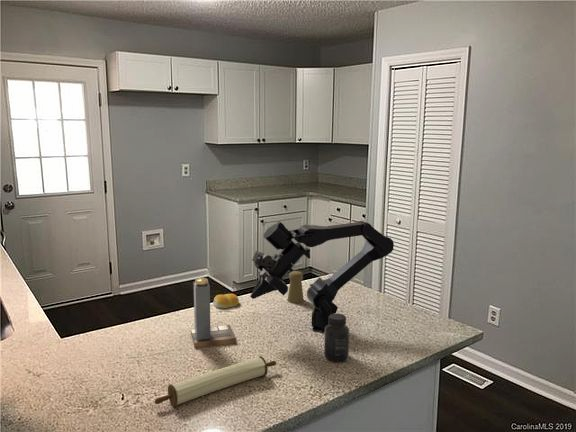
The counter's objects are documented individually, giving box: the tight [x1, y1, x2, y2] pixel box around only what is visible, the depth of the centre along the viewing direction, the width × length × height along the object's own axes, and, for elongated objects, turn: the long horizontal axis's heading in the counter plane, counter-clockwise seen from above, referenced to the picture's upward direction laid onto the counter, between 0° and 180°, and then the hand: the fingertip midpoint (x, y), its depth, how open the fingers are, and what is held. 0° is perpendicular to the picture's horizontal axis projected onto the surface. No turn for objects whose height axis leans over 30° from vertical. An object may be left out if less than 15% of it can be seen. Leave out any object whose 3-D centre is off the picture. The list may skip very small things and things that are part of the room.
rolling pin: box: [154, 355, 277, 408], centre depth 114 cm, size 32×6×5 cm, turn 124°
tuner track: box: [190, 324, 237, 349], centre depth 142 cm, size 12×10×2 cm
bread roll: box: [212, 293, 240, 309], centre depth 169 cm, size 8×9×4 cm
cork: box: [286, 270, 305, 305], centre depth 172 cm, size 6×6×11 cm
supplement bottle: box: [323, 313, 350, 363], centre depth 130 cm, size 7×7×12 cm
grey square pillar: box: [193, 277, 211, 340], centre depth 139 cm, size 4×9×17 cm, turn 17°
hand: (251, 297), depth 141 cm, fingers closed
